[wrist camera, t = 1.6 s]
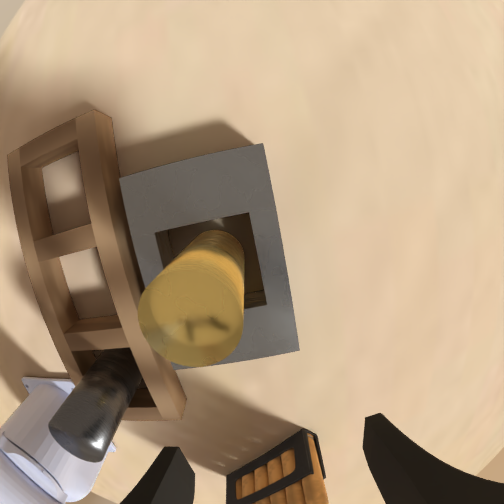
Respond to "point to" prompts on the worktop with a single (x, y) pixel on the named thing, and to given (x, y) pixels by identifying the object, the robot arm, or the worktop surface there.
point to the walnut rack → (111, 255)
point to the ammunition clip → (282, 475)
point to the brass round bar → (197, 302)
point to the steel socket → (208, 208)
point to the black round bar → (97, 405)
